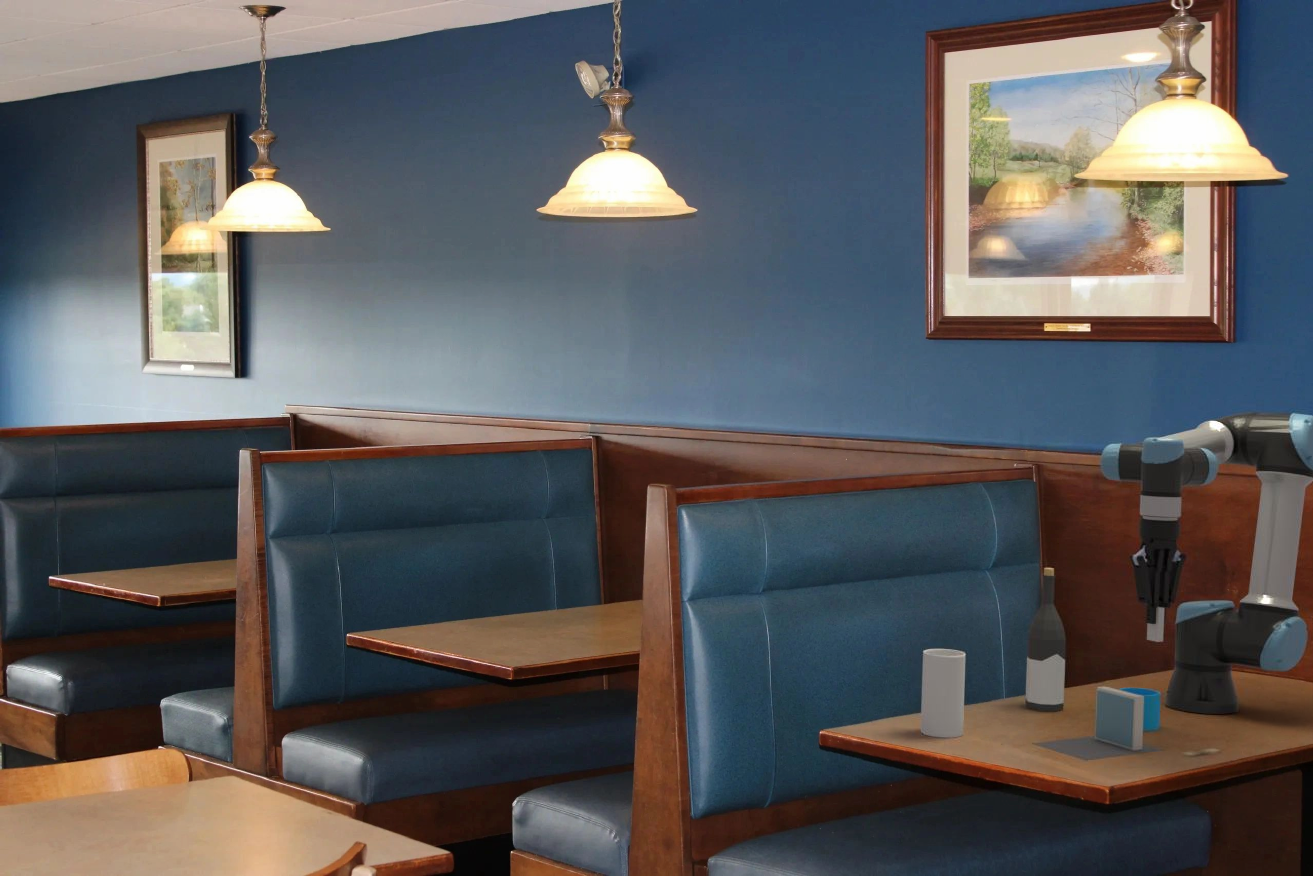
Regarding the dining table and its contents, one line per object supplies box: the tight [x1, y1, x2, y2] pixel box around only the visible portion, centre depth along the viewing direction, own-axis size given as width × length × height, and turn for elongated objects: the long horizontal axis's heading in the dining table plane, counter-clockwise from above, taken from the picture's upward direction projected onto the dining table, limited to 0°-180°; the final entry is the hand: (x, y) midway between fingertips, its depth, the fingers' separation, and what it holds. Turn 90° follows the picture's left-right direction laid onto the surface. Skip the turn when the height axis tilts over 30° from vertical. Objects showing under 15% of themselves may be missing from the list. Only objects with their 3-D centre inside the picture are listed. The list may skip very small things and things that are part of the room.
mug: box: [1118, 687, 1162, 732], centre depth 315 cm, size 12×8×8 cm
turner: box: [1182, 748, 1222, 758], centre depth 289 cm, size 16×6×2 cm, turn 118°
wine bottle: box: [1025, 567, 1067, 713], centre depth 334 cm, size 8×8×30 cm
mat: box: [1032, 735, 1165, 761], centre depth 295 cm, size 20×14×1 cm
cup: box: [920, 648, 966, 739], centre depth 308 cm, size 8×8×16 cm
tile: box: [1094, 686, 1144, 750], centre depth 297 cm, size 2×10×10 cm, turn 29°
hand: (1154, 640), depth 300 cm, fingers closed
